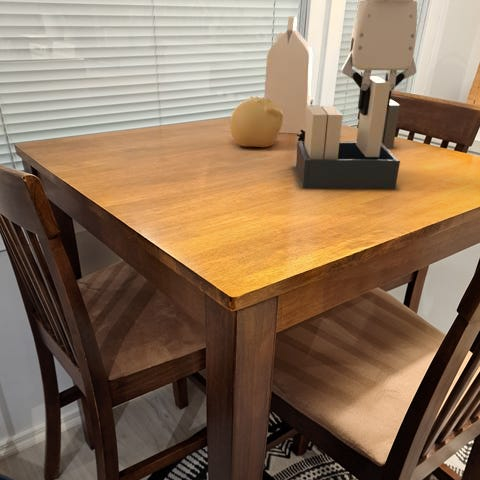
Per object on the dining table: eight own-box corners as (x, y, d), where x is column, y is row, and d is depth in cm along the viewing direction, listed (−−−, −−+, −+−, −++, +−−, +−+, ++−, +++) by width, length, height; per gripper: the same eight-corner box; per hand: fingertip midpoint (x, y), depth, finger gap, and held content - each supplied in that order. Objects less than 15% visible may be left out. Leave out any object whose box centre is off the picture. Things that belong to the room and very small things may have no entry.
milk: (305, 134, 129) (314, 17, 115) (262, 131, 131) (265, 16, 117) (309, 124, 139) (318, 16, 125) (269, 122, 141) (273, 15, 127)
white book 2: (327, 170, 98) (334, 105, 92) (334, 184, 91) (342, 114, 84) (315, 170, 98) (321, 105, 92) (321, 184, 91) (328, 114, 84)
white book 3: (368, 145, 96) (378, 76, 89) (379, 157, 88) (390, 83, 82) (355, 144, 96) (364, 76, 89) (365, 157, 88) (376, 82, 82)
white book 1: (314, 170, 98) (320, 105, 92) (320, 184, 91) (327, 114, 84) (302, 170, 98) (307, 105, 92) (307, 184, 91) (313, 114, 84)
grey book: (383, 142, 122) (390, 98, 117) (392, 151, 115) (400, 105, 109) (373, 142, 122) (379, 98, 117) (382, 151, 115) (389, 105, 109)
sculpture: (288, 149, 116) (291, 99, 110) (240, 153, 112) (240, 102, 106) (268, 138, 125) (270, 91, 119) (223, 142, 121) (223, 94, 115)
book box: (377, 171, 101) (381, 142, 98) (394, 193, 89) (400, 160, 86) (295, 171, 101) (297, 141, 98) (302, 192, 89) (304, 159, 86)
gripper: (433, -9, 82) (411, 110, 92) (335, -10, 82) (324, 109, 91) (449, -10, 75) (423, 118, 85) (343, -11, 75) (330, 117, 85)
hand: (372, 113), depth 88 cm, fingers closed on white book 3, 2 cm apart
